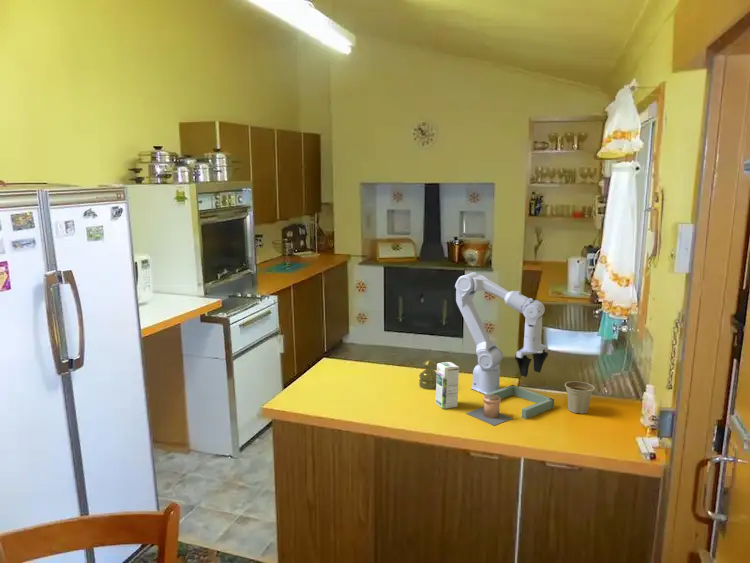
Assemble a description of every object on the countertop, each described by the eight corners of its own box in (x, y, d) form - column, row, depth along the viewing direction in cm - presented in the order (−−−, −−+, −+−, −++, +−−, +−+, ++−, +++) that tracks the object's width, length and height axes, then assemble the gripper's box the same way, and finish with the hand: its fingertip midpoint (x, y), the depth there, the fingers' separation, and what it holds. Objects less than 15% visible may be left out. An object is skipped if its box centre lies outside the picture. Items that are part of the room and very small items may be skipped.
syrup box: (434, 403, 195) (435, 363, 192) (449, 400, 197) (450, 361, 195) (443, 409, 190) (444, 368, 187) (458, 406, 192) (459, 366, 190)
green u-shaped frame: (483, 402, 196) (484, 394, 196) (512, 392, 206) (512, 384, 205) (525, 419, 183) (525, 410, 182) (553, 407, 192) (554, 399, 192)
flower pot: (569, 402, 196) (570, 379, 195) (596, 409, 191) (598, 385, 189) (558, 411, 189) (560, 386, 188) (587, 418, 183) (588, 393, 182)
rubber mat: (466, 413, 187) (466, 413, 187) (484, 407, 192) (484, 406, 192) (494, 425, 177) (494, 425, 177) (512, 418, 183) (512, 418, 183)
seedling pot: (479, 414, 186) (479, 396, 185) (490, 410, 189) (491, 393, 188) (492, 420, 181) (493, 402, 180) (503, 415, 185) (504, 398, 184)
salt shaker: (429, 391, 206) (430, 364, 205) (415, 385, 212) (415, 360, 210) (443, 386, 211) (443, 360, 210) (428, 381, 217) (429, 356, 215)
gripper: (529, 342, 188) (527, 381, 190) (555, 335, 197) (552, 372, 199) (512, 337, 193) (510, 375, 196) (538, 331, 202) (535, 367, 204)
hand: (530, 373), depth 198 cm, fingers open, 7 cm apart
